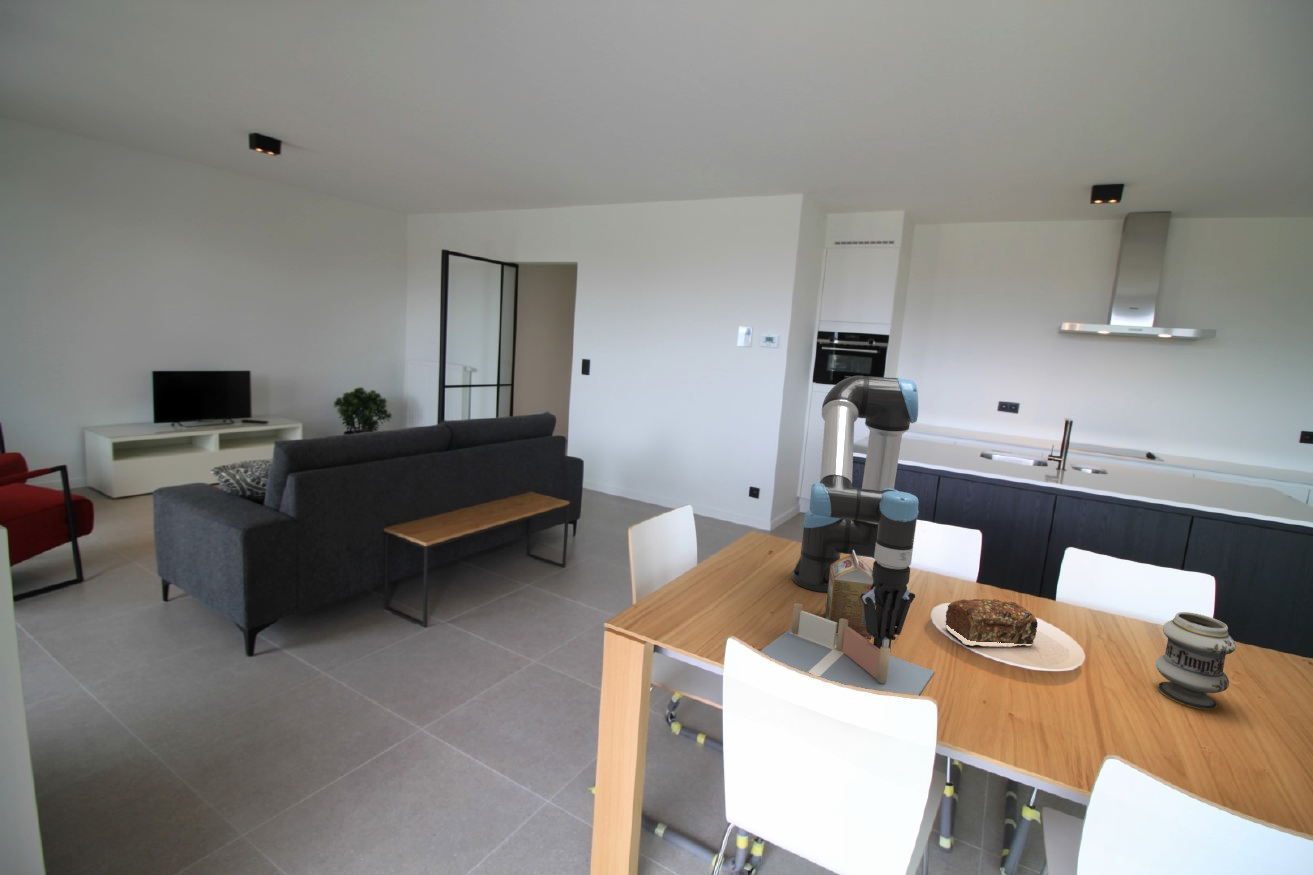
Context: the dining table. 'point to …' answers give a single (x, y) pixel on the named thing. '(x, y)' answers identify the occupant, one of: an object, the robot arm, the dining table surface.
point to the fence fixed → (818, 627)
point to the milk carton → (848, 592)
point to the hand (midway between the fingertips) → (879, 664)
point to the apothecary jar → (1194, 659)
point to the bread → (992, 621)
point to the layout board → (845, 665)
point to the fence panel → (866, 654)
